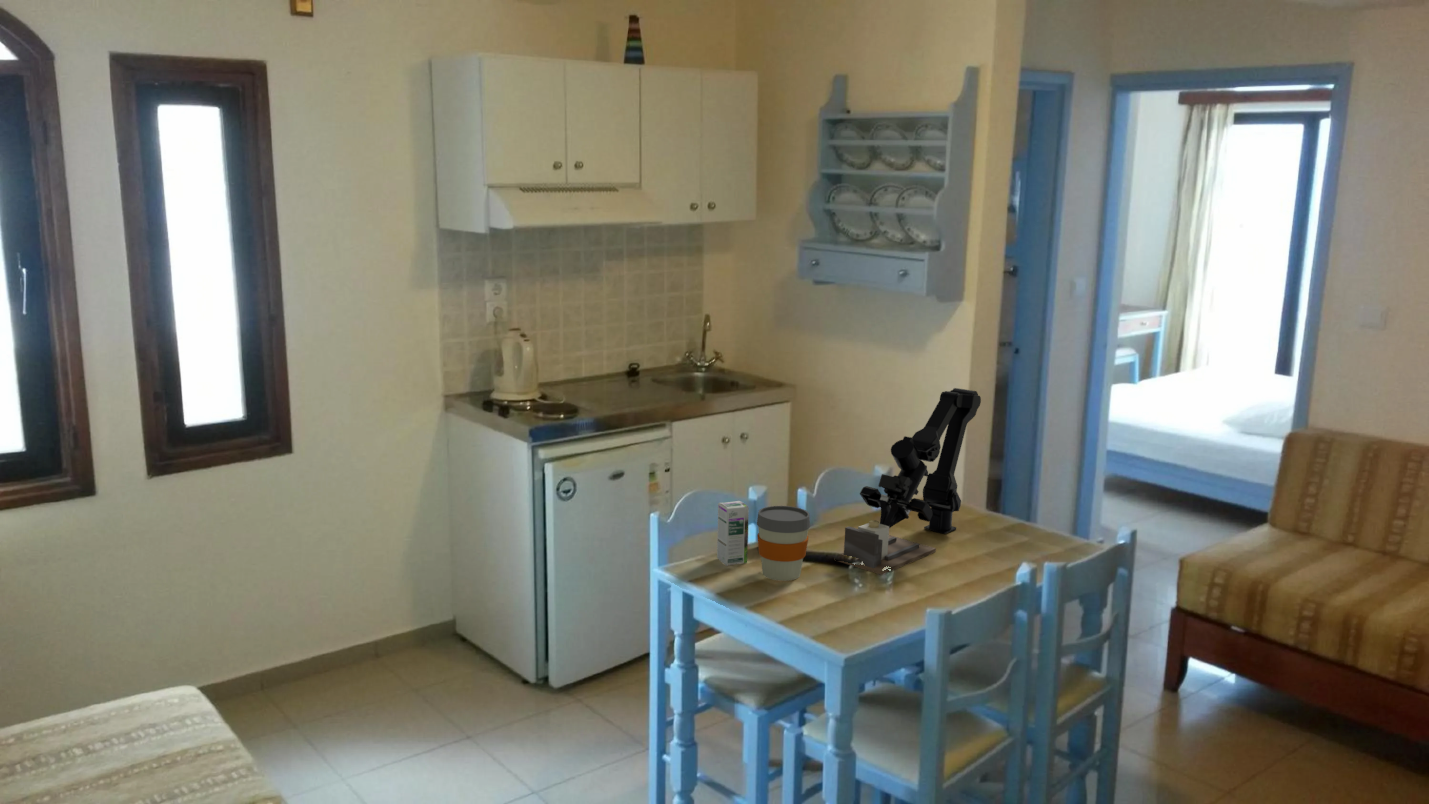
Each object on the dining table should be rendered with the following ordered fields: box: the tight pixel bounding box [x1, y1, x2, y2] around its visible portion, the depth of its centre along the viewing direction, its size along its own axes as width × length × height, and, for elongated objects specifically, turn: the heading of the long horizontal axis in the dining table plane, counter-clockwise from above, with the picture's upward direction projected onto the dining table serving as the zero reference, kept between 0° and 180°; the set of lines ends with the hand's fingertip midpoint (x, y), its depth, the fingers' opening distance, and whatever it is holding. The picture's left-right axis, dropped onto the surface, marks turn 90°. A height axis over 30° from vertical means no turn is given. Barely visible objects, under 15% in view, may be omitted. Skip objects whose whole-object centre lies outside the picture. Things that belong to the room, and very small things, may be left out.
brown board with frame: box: [834, 526, 937, 576], centre depth 272 cm, size 24×14×9 cm, turn 137°
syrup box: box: [716, 500, 750, 567], centre depth 264 cm, size 6×6×14 cm
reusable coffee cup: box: [756, 505, 811, 582], centre depth 257 cm, size 13×13×15 cm
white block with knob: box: [857, 519, 890, 560], centre depth 267 cm, size 6×5×9 cm
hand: (880, 531), depth 269 cm, fingers closed, pressing on white block with knob
